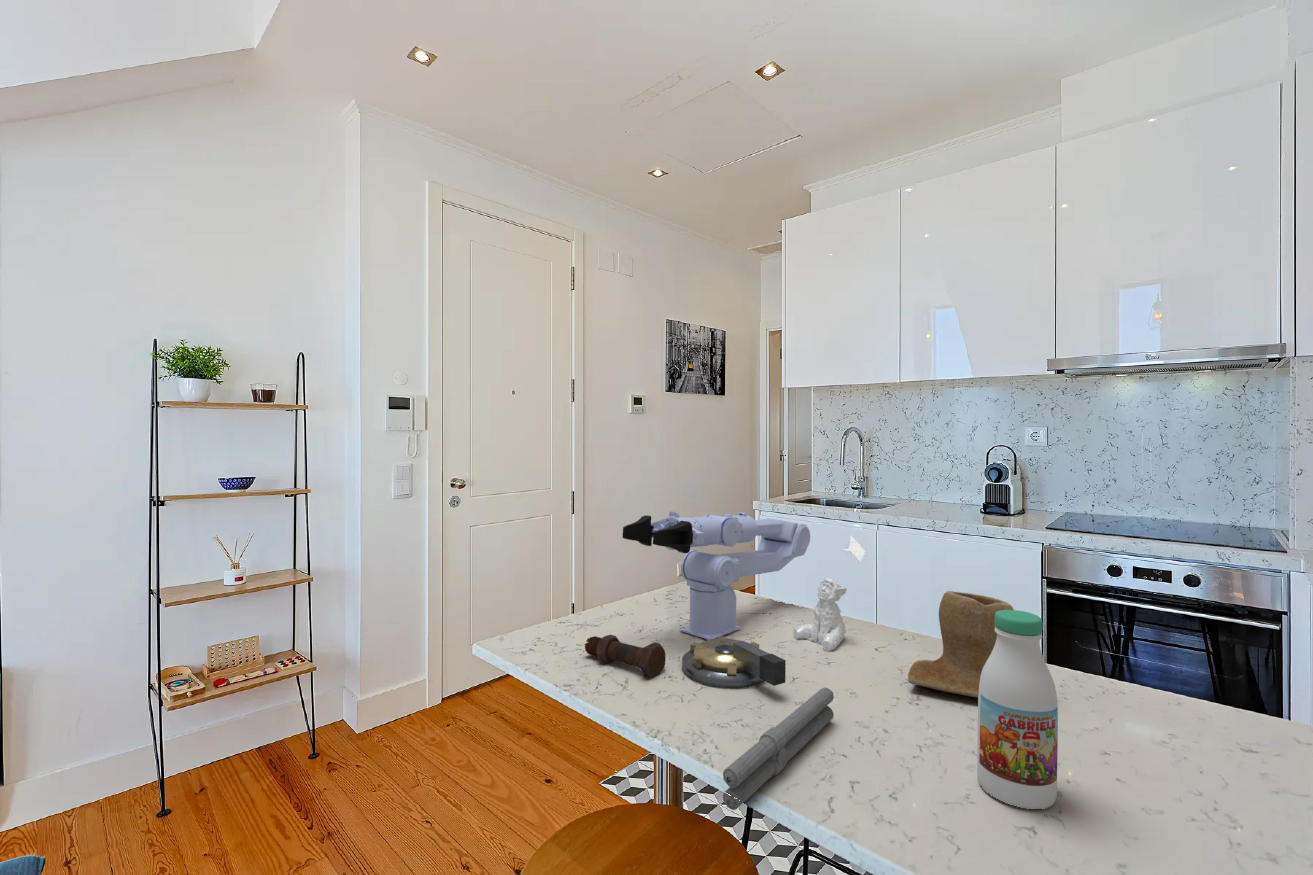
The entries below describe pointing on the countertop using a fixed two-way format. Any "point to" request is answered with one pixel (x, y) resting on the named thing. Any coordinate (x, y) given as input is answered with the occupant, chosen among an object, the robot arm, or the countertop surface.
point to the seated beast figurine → (825, 617)
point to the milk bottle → (1018, 716)
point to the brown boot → (961, 644)
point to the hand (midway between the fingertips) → (638, 535)
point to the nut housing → (718, 676)
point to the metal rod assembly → (776, 748)
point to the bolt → (628, 654)
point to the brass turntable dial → (738, 659)
